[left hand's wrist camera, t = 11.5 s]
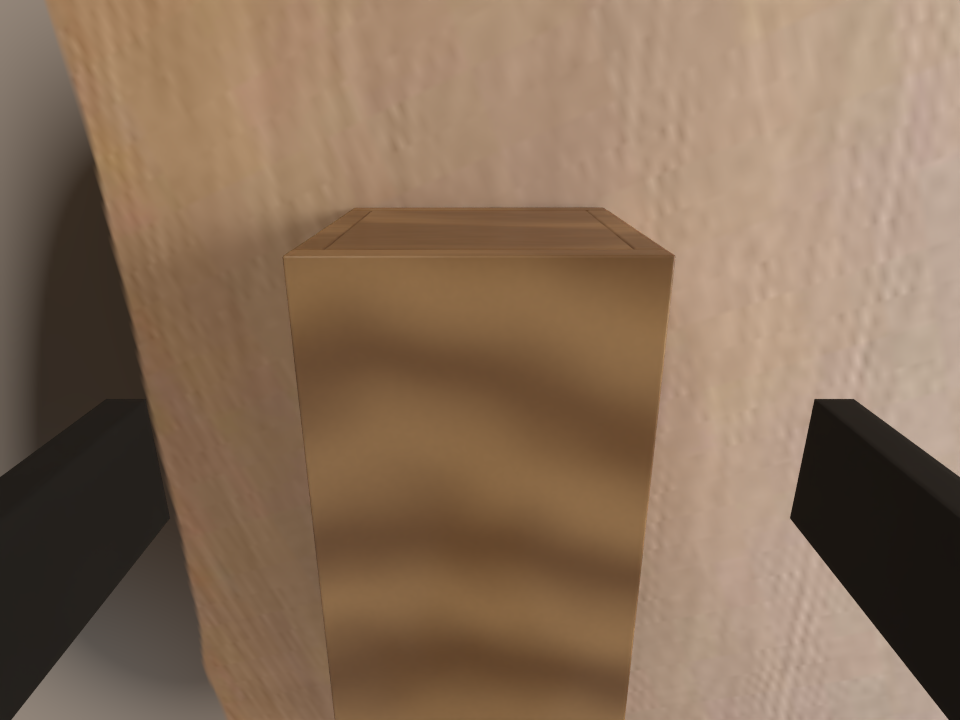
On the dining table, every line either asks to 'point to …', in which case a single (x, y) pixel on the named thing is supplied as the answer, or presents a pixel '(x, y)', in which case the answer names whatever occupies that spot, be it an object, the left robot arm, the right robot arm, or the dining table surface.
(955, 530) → the left robot arm
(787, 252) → the dining table surface
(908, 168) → the dining table surface
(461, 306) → the cabinet
